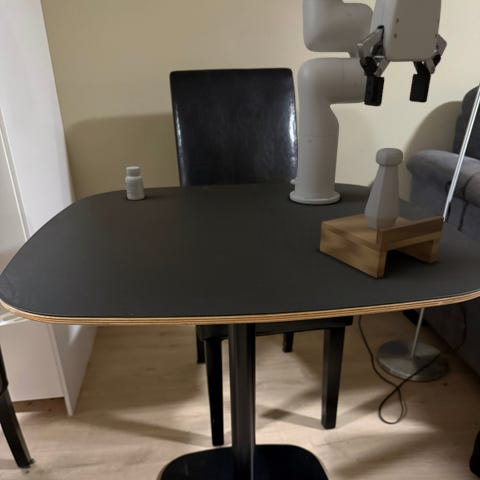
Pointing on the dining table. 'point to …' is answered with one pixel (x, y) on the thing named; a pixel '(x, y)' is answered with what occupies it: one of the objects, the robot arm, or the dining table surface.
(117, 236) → the dining table surface
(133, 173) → the pill bottle
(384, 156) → the salt shaker
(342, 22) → the robot arm
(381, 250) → the shelf
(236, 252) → the dining table surface
